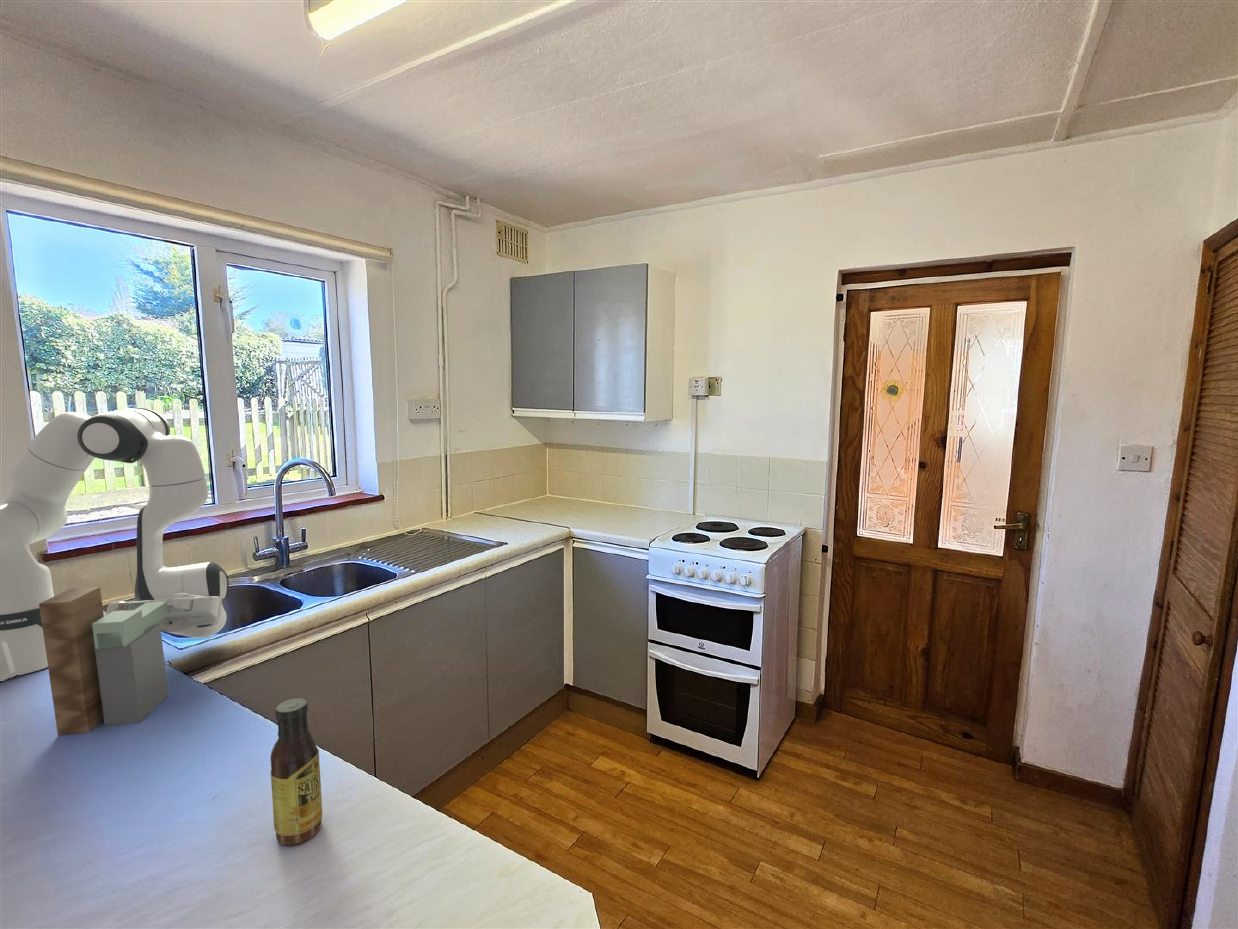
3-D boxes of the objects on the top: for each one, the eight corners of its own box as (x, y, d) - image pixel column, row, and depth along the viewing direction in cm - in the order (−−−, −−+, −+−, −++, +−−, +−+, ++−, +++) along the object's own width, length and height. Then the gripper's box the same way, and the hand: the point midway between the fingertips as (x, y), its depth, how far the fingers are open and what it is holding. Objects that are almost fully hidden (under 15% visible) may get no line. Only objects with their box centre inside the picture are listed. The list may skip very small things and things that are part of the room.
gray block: (104, 725, 112) (94, 647, 110) (135, 698, 122) (127, 626, 120) (140, 721, 114) (130, 644, 111) (168, 695, 123) (160, 623, 121)
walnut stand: (57, 735, 109) (39, 603, 106) (87, 712, 117) (70, 588, 113) (88, 732, 110) (71, 601, 107) (115, 709, 118) (100, 586, 114)
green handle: (95, 648, 110) (92, 623, 109) (145, 616, 125) (142, 593, 124) (125, 646, 111) (122, 621, 110) (171, 614, 126) (168, 592, 125)
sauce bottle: (308, 849, 83) (298, 719, 80) (265, 848, 83) (253, 719, 80) (332, 815, 89) (323, 694, 86) (292, 814, 89) (282, 694, 86)
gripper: (130, 603, 133) (91, 592, 120) (229, 596, 137) (201, 585, 125) (125, 631, 131) (84, 623, 118) (225, 624, 135) (196, 615, 122)
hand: (145, 604), depth 121 cm, fingers open, 8 cm apart
